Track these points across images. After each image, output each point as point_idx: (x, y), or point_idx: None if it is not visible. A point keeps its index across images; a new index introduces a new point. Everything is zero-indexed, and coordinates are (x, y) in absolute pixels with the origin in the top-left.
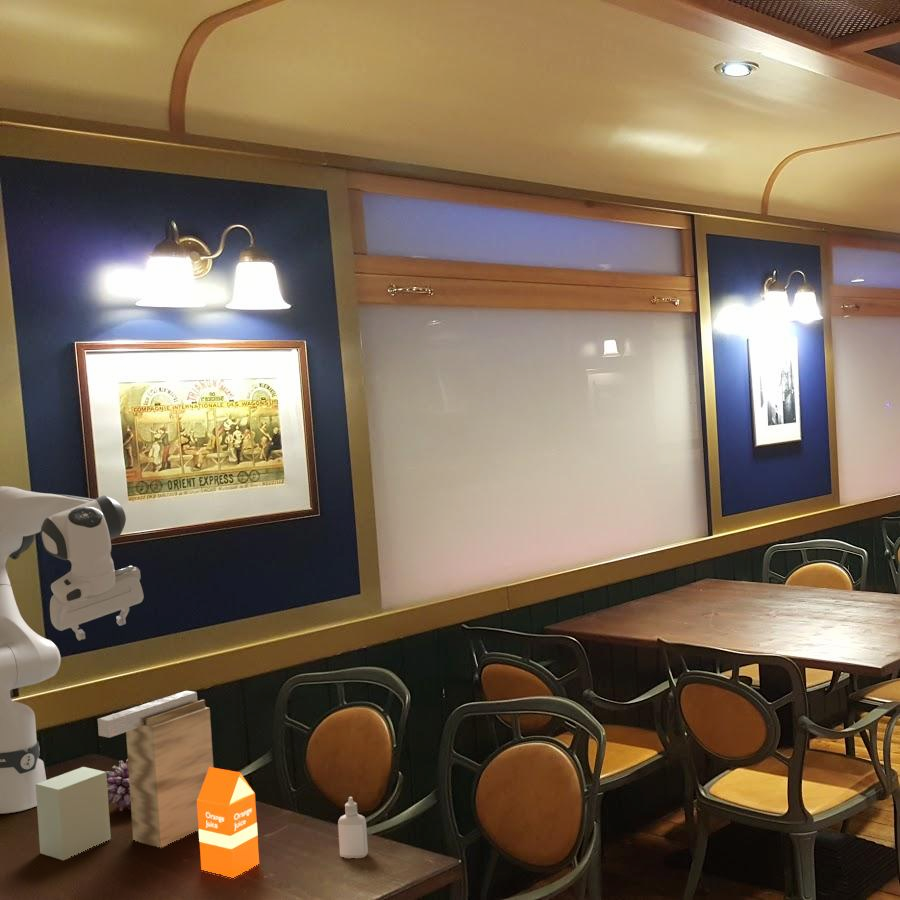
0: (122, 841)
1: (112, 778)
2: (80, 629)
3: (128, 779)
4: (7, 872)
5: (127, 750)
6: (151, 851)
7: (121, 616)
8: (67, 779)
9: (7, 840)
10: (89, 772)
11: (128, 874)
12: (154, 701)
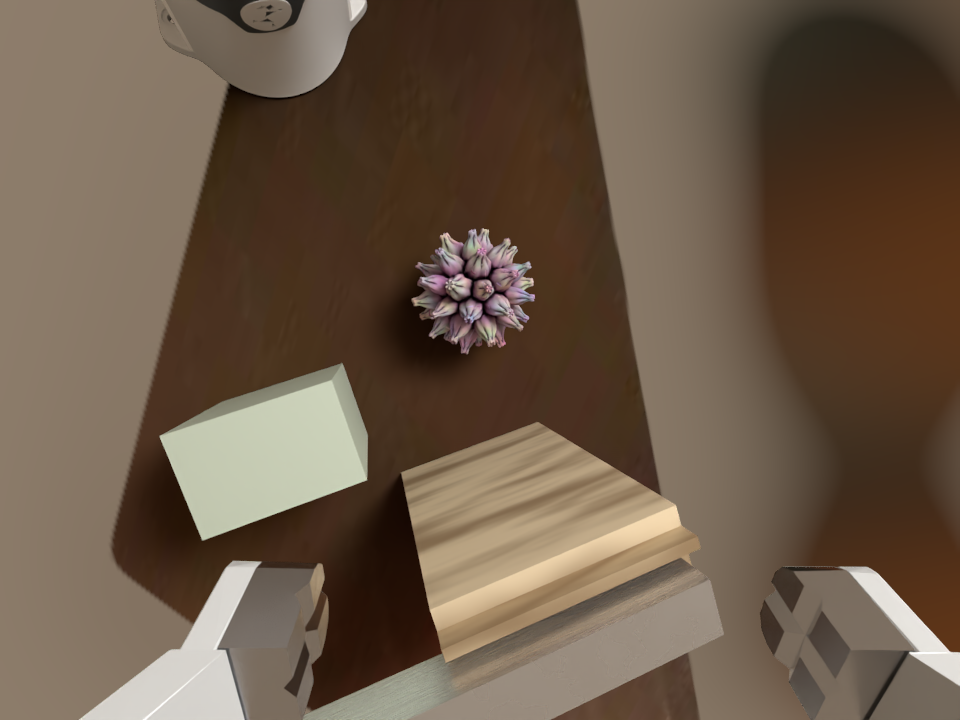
0: (382, 461)
1: (438, 288)
2: (264, 656)
3: (464, 333)
4: (132, 456)
5: (419, 560)
6: (407, 550)
7: (893, 707)
8: (253, 464)
9: (181, 265)
10: (327, 449)
11: (332, 628)
12: (557, 659)
